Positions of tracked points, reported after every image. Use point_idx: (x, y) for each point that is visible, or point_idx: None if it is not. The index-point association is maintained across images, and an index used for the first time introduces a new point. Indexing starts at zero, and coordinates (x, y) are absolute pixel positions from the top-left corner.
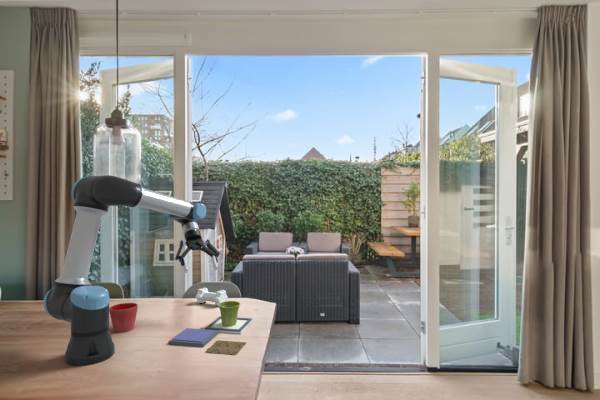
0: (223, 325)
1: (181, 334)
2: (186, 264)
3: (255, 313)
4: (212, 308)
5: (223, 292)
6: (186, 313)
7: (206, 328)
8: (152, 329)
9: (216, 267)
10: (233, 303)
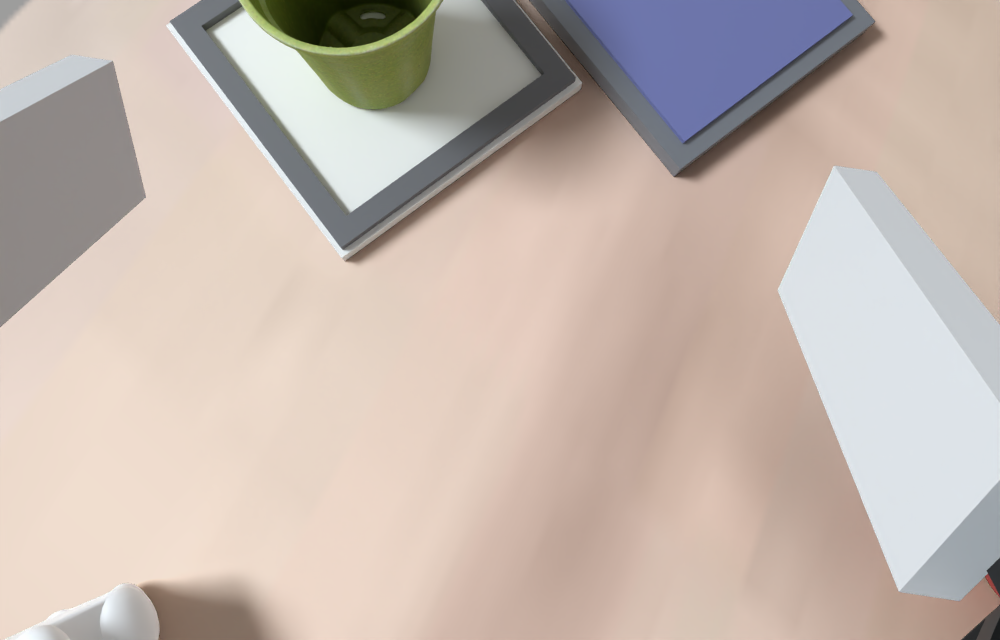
0: None
1: (772, 56)
2: (901, 240)
3: None
4: (221, 591)
5: None
6: (487, 608)
7: (567, 68)
8: None
9: (108, 86)
10: (261, 11)
